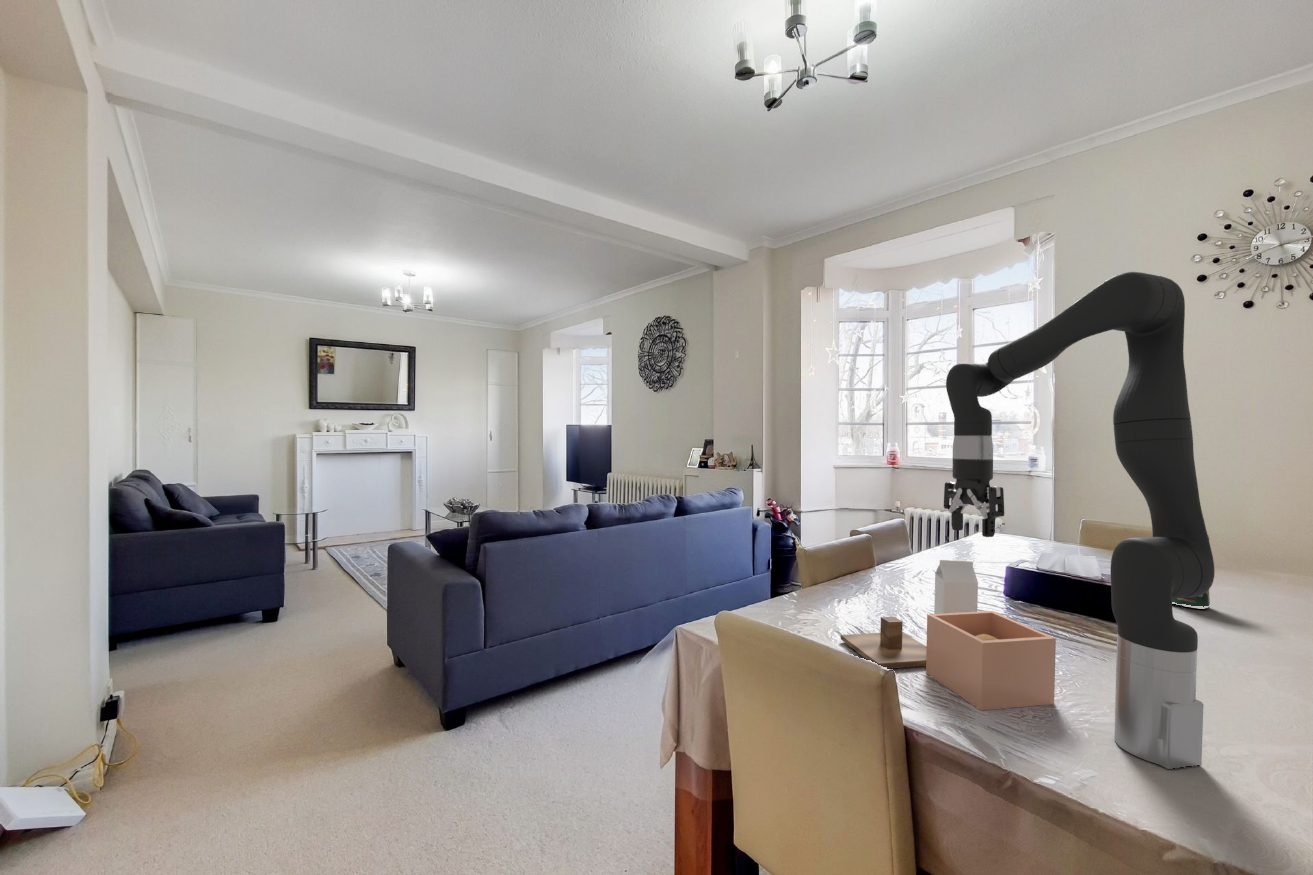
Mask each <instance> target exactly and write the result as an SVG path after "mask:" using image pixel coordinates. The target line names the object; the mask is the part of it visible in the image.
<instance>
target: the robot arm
mask: <svg viewBox="0 0 1313 875" xmlns="http://www.w3.org/2000/svg"><path fill="white" fill-rule="evenodd" d="M1185 302H1186V301H1185V295H1184V292H1183V290H1182V288H1181V287H1180V285H1179V284H1178V283H1177V282H1175V281H1174V280H1172V279H1171V278H1168V277H1165V276H1161V275H1157V274H1151V273H1146V272H1140V271H1139V272H1138V271H1126V272H1122V273H1119V274H1116V275H1113V276H1112V277H1110V278H1108V279H1106V280H1105V281H1103V282H1102V283H1100V284H1098V285H1097V286H1096V287H1094V288H1093V289H1092V290H1090V291H1089V292H1088V293H1086V294H1084V295H1083V296H1082V297H1081V298H1079V299H1078V300H1076V301H1075V302H1074V303H1072V304H1071V305H1069V306H1068V307H1067V308H1065V309H1063V310H1062V311H1061V312H1060V313H1058V314H1056V315H1055V316H1054V317H1052V318H1050V319H1049V320H1048V321H1046V322H1044V323H1043V324H1041V325H1039V326H1038V327H1036V328H1034V329H1033V330H1031V331H1029V332H1027V333H1025V334H1024V335H1021V336H1020V337H1017V338H1015V339H1014V340H1012V341H1010V342H1007V343H1006V344H1004V345H1002V346H1000V347H997V349H994V350H993V352H991V353H990V355H989V356H988V358H987V362H984V363H975V362H974V363H973V362H960V363H956V364H954V365H953V366H952V367H951V368H950V370H949V371H948V372H947V376H946V380H945V388H946V394H947V396H948V401H949V404H950V408H951V411H952V414H953V420H954V421H953V423H954V424H953V435H954V436H953V442H952V479H954V480H955V482H954V481H949V482H948V481H947V482H946V481H945V483H944V486H943V487H944V490H943V491H944V493H943V508H944V509H945V510H948V511H949V512H950V513H951V514H950V516H951V517H950V518H951V520H950V522H951V523H950V524H951V529H952V530H953V531H963V530H964V513H963V511H964V510H965V508H966V507H967V506H969V505H970V506H974V507H975V509H977V510H978V511H979V513H980V514H981V516H982V522H981V523H982V524H981V529H982V530H981V535H982V537H983V538H993V537H994V536H995V534H996V519H997V518H1000V517H1004V516H1005V498H1004V496H1005V494H1004V487H1002V486H991V484H990V481H991V480H993V479H994V443H993V417H992V416H993V415H992V412H991V410H990V409H988V408H985V407H982V406H981V404H980V402H979V401H980V400H979V399H978V398H980V397H981V398H983V397H988V396H993V395H994V394H997V393H998V392H1000V391H1001V390H1003V389H1004V388H1006V387H1007V386H1008V385H1010V384H1011V383H1012V382H1013V381H1014V380H1017V379H1020V378H1022V377H1024V376H1026V375H1029V374H1031V373H1033V372H1036V371H1038V370H1039V369H1041V368H1043V367H1045V366H1047V365H1048V364H1050V363H1051V362H1053V361H1054V360H1055V359H1056V358H1059V356H1060V355H1061V354H1062V353H1064V351H1066V349H1068V348H1069V347H1071V346H1072V345H1074V344H1076V343H1077V342H1079V341H1081V340H1084V339H1086V338H1089V337H1092V336H1095V335H1098V334H1101V333H1105V332H1109V331H1112V330H1114V331H1120V332H1124V334H1125V338H1126V345H1127V353H1128V369H1127V373H1126V378H1125V380H1124V382H1123V385H1122V386H1121V390H1120V392H1119V395H1118V396H1117V399H1116V402H1115V405H1114V409H1113V415H1112V416H1113V417H1112V418H1113V419H1112V422H1113V424H1112V425H1113V432H1114V445H1115V451H1116V455H1117V458H1118V460H1119V461H1120V464H1121V465H1122V467H1123V468H1124V470H1125V471H1126V473H1127V474H1128V475H1129V477H1130V478H1131V480H1132V481H1133V483H1134V484H1135V486H1137V488H1138V490H1139V491H1140V492H1141V493H1140V494H1142V496H1143V497H1144V500H1145V501H1146V504H1147V507H1148V510H1149V513H1150V514H1149V515H1150V520H1151V528H1152V529H1151V531H1152V536H1149V537H1148V536H1143V537H1142V536H1140V537H1139V536H1138V537H1137V536H1136V537H1129V538H1126V539H1123V540H1121V541H1120V542H1119V543H1117V545H1116V546H1115V548H1114V549H1113V551H1112V555H1111V559H1110V592H1111V595H1110V596H1111V609H1112V614H1113V617H1114V620H1115V621H1116V625H1117V634H1116V638H1117V639H1116V667H1115V668H1116V669H1115V670H1116V671H1115V701H1114V704H1115V705H1114V736H1113V737H1114V741H1115V743H1116V745H1117V746H1119V747H1120V748H1121V749H1123V750H1124V751H1126V752H1127V753H1129V754H1131V755H1133V756H1135V757H1137V758H1140V759H1141V760H1145V761H1147V762H1150V763H1153V764H1157V765H1159V766H1161V767H1163V768H1165V769H1167V770H1174V769H1173V768H1175V769H1181V768H1180V767H1184V766H1192V767H1198V766H1197V765H1201V766H1202V764H1203V763H1202V761H1203V731H1204V730H1203V728H1204V727H1203V726H1204V703H1203V702H1202V701H1200V700H1198V699H1197V670H1198V669H1197V667H1198V666H1197V665H1198V645H1199V644H1198V641H1199V639H1198V638H1199V637H1198V633H1197V630H1196V629H1195V628H1194V627H1193V626H1191V625H1189V624H1187V623H1186V622H1183V621H1181V620H1178V619H1175V617H1174V612H1173V605H1172V598H1190V597H1197V596H1200V595H1203V594H1204V593H1206V592H1207V591H1208V590H1209V591H1210V589H1211V588H1212V586H1213V583H1214V580H1215V561H1214V555H1213V551H1212V548H1211V544H1210V538H1209V534H1208V531H1207V527H1206V522H1205V519H1204V515H1203V510H1202V506H1201V499H1200V493H1199V484H1198V478H1197V471H1196V464H1195V463H1196V462H1195V454H1194V436H1193V428H1192V427H1193V426H1192V418H1191V417H1192V416H1191V412H1190V406H1189V405H1190V404H1189V399H1188V398H1189V397H1188V396H1189V395H1188V388H1187V387H1188V386H1187V377H1186V367H1185V360H1184V356H1185V355H1184V344H1185V343H1184V341H1185V339H1184V338H1185V321H1186V320H1185V315H1186V309H1185V308H1186V303H1185ZM950 499H951V500H950ZM996 506H997V507H996ZM1194 765H1195V766H1194ZM1184 768H1185V767H1184Z"/></svg>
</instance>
